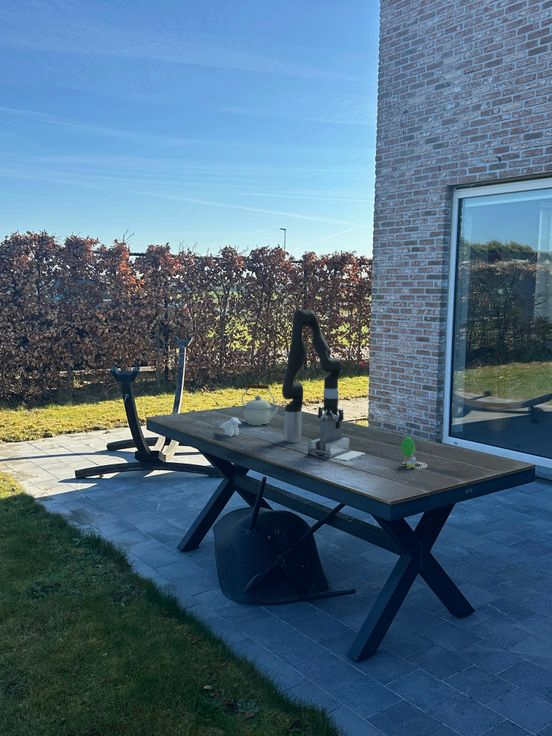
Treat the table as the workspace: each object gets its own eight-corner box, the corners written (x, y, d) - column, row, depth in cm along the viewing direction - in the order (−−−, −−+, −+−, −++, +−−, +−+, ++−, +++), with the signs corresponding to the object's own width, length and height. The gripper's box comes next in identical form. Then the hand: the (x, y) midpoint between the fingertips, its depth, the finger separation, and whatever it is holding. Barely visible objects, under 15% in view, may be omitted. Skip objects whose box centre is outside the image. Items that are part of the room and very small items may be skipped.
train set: (419, 443, 292) (393, 438, 301) (418, 471, 293) (392, 466, 302) (434, 437, 303) (409, 433, 312) (433, 465, 304) (408, 460, 314)
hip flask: (323, 456, 319) (323, 417, 317) (317, 454, 322) (317, 416, 320) (342, 451, 330) (343, 413, 328) (336, 449, 333) (337, 412, 331)
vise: (307, 454, 322) (307, 441, 322) (328, 447, 338) (328, 434, 337) (329, 458, 314) (329, 445, 313) (349, 451, 329) (350, 438, 329)
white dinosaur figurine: (237, 438, 355) (235, 418, 355) (214, 435, 374) (212, 416, 374) (246, 436, 360) (245, 417, 359) (223, 433, 378) (222, 415, 378)
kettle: (236, 424, 397) (236, 385, 394) (246, 419, 414) (246, 382, 412) (274, 427, 390) (274, 387, 387) (282, 421, 407) (283, 383, 404)
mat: (333, 458, 314) (333, 457, 314) (352, 451, 328) (352, 450, 328) (347, 461, 309) (347, 460, 309) (365, 454, 324) (365, 453, 324)
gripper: (315, 396, 324) (315, 427, 326) (338, 399, 316) (338, 430, 317) (323, 394, 330) (323, 424, 332) (346, 397, 322) (346, 428, 323)
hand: (330, 427), depth 325 cm, fingers open, 8 cm apart
